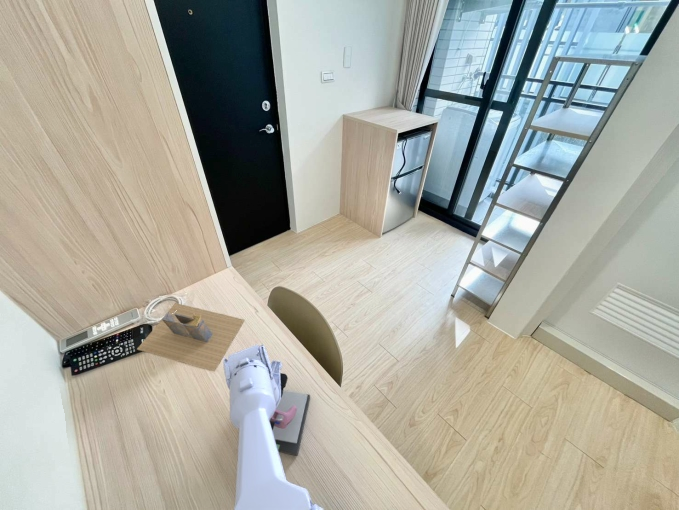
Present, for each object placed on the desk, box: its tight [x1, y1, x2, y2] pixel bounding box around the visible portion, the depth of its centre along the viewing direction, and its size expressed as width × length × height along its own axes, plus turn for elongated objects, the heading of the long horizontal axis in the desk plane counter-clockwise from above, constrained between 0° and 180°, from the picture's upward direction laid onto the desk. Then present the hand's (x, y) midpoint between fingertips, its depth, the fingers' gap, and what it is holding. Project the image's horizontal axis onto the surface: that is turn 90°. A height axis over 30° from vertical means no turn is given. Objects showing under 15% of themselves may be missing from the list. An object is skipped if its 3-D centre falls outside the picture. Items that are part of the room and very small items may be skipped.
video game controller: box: [269, 406, 297, 429], centre depth 58 cm, size 10×5×7 cm
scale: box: [273, 389, 311, 457], centre depth 63 cm, size 12×13×3 cm
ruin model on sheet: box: [136, 302, 246, 372], centre depth 76 cm, size 25×16×10 cm, turn 76°
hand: (272, 411), depth 59 cm, fingers closed on video game controller, 6 cm apart
